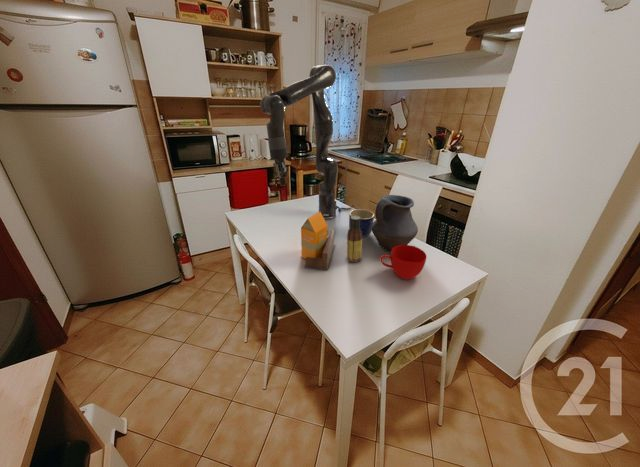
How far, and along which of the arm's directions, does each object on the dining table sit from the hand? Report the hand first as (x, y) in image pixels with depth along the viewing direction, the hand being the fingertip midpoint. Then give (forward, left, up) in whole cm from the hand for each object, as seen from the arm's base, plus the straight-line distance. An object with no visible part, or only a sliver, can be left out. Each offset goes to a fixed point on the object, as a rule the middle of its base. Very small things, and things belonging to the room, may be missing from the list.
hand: (282, 185), depth 123 cm
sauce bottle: (-16, +36, -26) cm, 47 cm away
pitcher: (-38, +36, -26) cm, 59 cm away
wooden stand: (-5, +27, -26) cm, 38 cm away
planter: (-34, +18, -26) cm, 46 cm away
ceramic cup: (-26, +54, -26) cm, 66 cm away
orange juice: (-3, +26, -26) cm, 37 cm away
